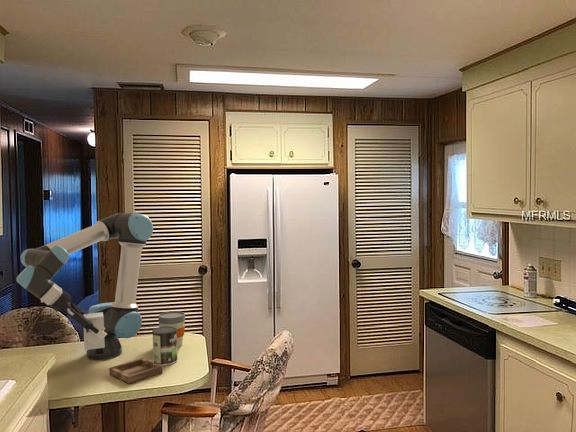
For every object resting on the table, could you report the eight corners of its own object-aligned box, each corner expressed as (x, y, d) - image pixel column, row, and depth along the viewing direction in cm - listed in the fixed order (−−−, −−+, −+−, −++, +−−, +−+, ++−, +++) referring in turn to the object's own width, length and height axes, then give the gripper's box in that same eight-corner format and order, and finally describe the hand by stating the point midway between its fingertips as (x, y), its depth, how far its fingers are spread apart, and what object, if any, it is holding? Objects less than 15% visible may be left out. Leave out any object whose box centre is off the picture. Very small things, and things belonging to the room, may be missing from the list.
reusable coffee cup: (158, 342, 239) (157, 312, 238) (184, 340, 243) (183, 310, 242) (159, 351, 227) (158, 319, 226) (187, 348, 231) (186, 316, 230)
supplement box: (84, 351, 188) (83, 318, 188) (84, 345, 195) (82, 313, 194) (105, 348, 191) (103, 316, 190) (104, 342, 198) (102, 311, 197)
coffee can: (181, 357, 218) (180, 326, 217) (171, 366, 208) (170, 333, 207) (159, 356, 221) (158, 325, 219) (148, 365, 210) (147, 332, 209)
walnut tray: (109, 375, 200) (109, 367, 200) (142, 364, 211) (142, 357, 211) (128, 385, 190) (128, 377, 190) (162, 373, 201) (162, 366, 201)
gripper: (49, 299, 195) (95, 334, 203) (48, 312, 176) (98, 349, 184) (63, 285, 197) (108, 319, 205) (63, 296, 178) (112, 333, 186)
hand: (103, 333), depth 194 cm, fingers closed on supplement box, 7 cm apart
